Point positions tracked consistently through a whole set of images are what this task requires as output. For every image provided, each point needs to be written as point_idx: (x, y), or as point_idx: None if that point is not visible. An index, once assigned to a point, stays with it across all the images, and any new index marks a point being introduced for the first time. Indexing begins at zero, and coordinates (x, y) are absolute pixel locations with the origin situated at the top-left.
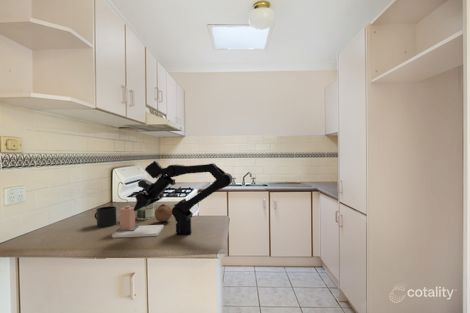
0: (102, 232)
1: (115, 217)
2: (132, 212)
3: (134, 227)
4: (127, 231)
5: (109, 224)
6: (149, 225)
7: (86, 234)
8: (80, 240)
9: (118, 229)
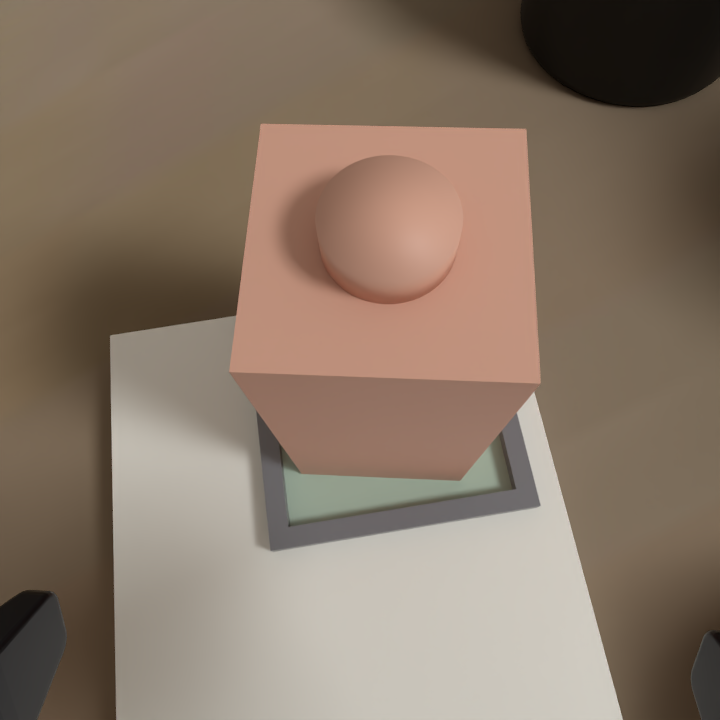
0: None
1: (699, 31)
2: (390, 412)
3: (434, 478)
4: (256, 462)
5: (569, 68)
6: (603, 680)
7: (261, 34)
8: (70, 91)
9: None
